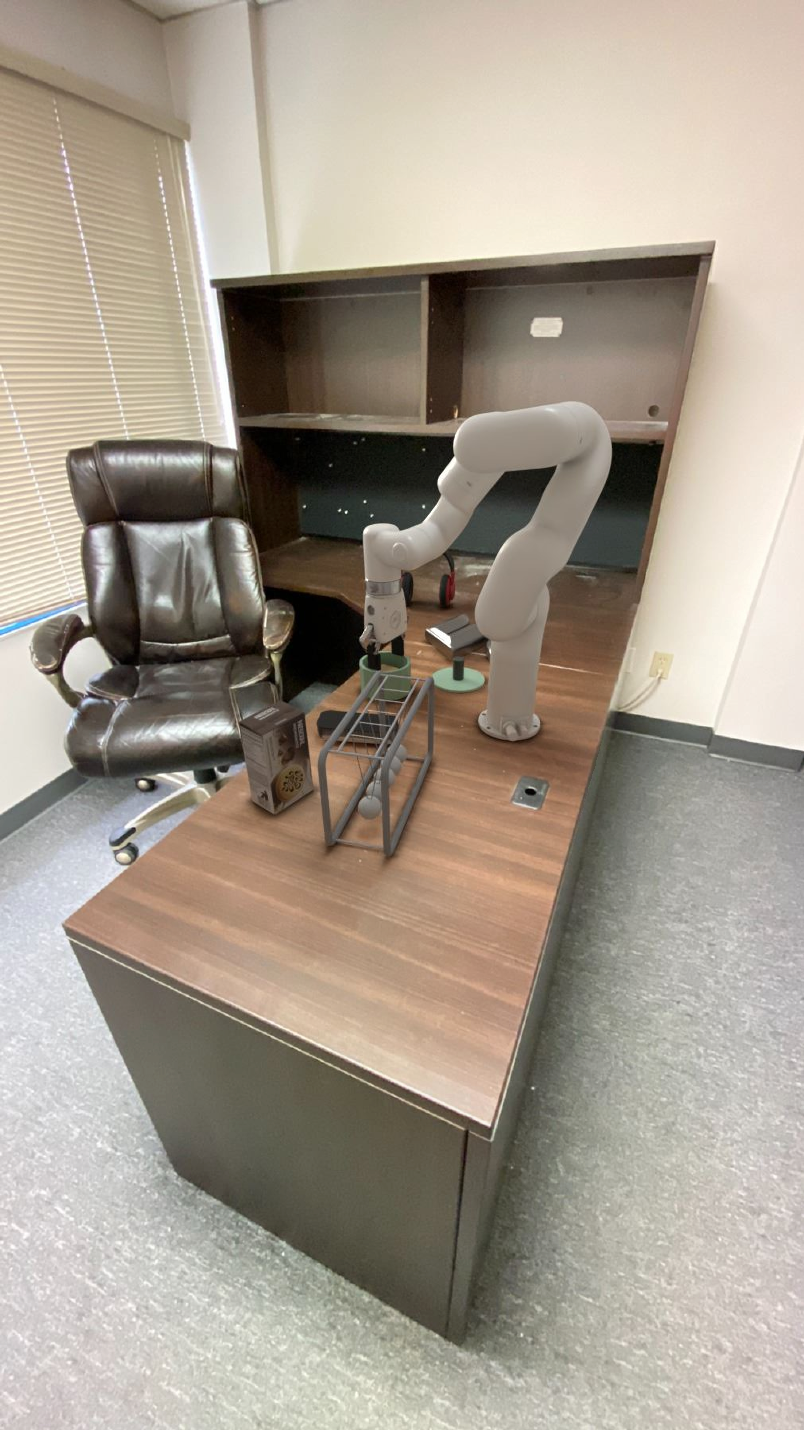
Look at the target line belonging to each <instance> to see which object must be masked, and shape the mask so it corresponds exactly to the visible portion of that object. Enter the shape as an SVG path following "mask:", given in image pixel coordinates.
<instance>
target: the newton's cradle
mask: <svg viewBox="0 0 804 1430" xmlns="http://www.w3.org/2000/svg"><path fill="white" fill-rule="evenodd" d="M384 677H385V679H384ZM388 677H393V678H402V679H411V681H412V680H413V681H415V682H414V685H412V687H411V691H410V692H409V694H408V695H407V696H406V699H405V700H404V701H398V703H399V704H400V703H401V704H402V705H401V708H400V710H399V711H398V713H395V712H388V709H387V704H386V702H388V701H387V700H385V690H389V689H385V688H384V683H385V681H386V680H387V678H388ZM377 681H378V689H377V691H376V692H375V694H374V695H373V697H372V698H371V699H370V700H369V702H368V703H367V705H366V706H365V707H364V709H363V710H362V712H361V713H362V714H361V715H360V717H359V718H358V720H357V721H356V723H355V724H354V726H353V727H352V729H351V730H350V732H349V733H348V735H347V736H346V738H345V739H344V741H341V744H340V745H339V747H338V748H337V750H334V749H332V748H333V747H334V746H335V744H336V743H337V742H338V741H337V740H338V738H339V737H340V735H341V734H342V732H343V731H344V729H345V728H346V726H347V725H348V723H349V722H350V721H351V719H352V718H353V716H354V715H355V713H356V712H357V713H358V710H359V709H360V707H361V706H362V705H363V703H364V701H365V700H367V699H366V697H367V696H368V694H369V693H370V691H371V690H372V688H373V687H374V685H375V684H376V682H377ZM420 681H421V682H423V684H422V686H421V688H420V690H419V692H418V694H417V695H416V697H415V699H414V701H413V703H412V705H411V707H410V708H409V710H408V712H407V709H408V708H407V707H408V704H409V700H410V698H411V696H412V694H413V692H414V691H415V689H416V687H417V685H418V683H419V682H420ZM393 691H398V690H393ZM378 692H379V699H374V698H375V697H376V695H377V694H378ZM402 692H407V691H402ZM426 695H427V748H426V749H427V750H426V756H425V757H420V756H414V755H413V756H412V755H408V751H407V749H406V748H405V746H404V745H402V744H401V743H402V742H403V740H404V738H405V736H406V734H407V732H408V730H409V728H410V726H411V725H412V722H413V721H414V718H415V716H416V714H417V712H418V710H419V708H420V706H421V705H422V702H423V700H424V699H425V697H426ZM378 700H379V701H378ZM373 701H374V704H375V708H376V710H373V712H375V713H377V714H378V716H379V720H380V724H375V725H380V738H376V739H380V744H379V747H378V744H376V740H375V736H374V732H373V728H372V723H371V720H370V716H369V712H372V710H371V709H369V707H370V706H371V704H372V703H373ZM377 701H378V705H377ZM390 702H393V703H397V700H392V701H390ZM404 709H405V710H404ZM403 711H404V715H403ZM346 712H347V714H346V715H345V717H344V718H343V719H342V721H341V722H340V724H339V725H338V726H337V728H336V729H335V731H334V732H333V734H332V735H331V736H330V738H329V739H328V740H326V742H325V743H324V745H323V746H322V747H321V749H320V751H319V755H318V758H317V775H318V785H319V796H320V805H321V814H322V815H321V816H322V825H323V835H324V836H323V837H324V842H325V844H326V845H327V846H330V847H332V846H334V845H335V844H336V843H337V842H338V843H343V844H349V845H353V846H360V847H366V848H370V849H375V850H381V851H382V850H383V854H384V856H385V857H391V856H392V855H393V854H394V853H395V850H396V848H397V846H398V842H399V841H400V838H401V835H402V833H403V830H404V828H405V825H406V823H407V821H408V818H409V817H410V814H411V811H412V808H413V806H414V804H415V802H416V798H417V797H418V793H419V792H420V789H421V786H422V784H423V781H424V779H425V777H426V774H427V772H428V770H429V767H430V765H431V762H432V760H433V755H434V746H435V745H434V743H435V741H434V740H435V739H434V737H435V736H434V735H435V686H434V678H433V677H432V675H428V676H427V677H426V678H421V677H414V676H411V677H404V676H395V675H386V674H383V673H382V671H377V672H376V673H375V674H374V676H373V677H372V678H371V680H370V681H369V683H368V684H367V685H366V687H365V688H364V690H363V691H362V692H361V691H360V694H359V695H358V697H357V698H356V699H355V701H354V702H353V703H352V705H351V707H350V708H349V709H348V711H346ZM364 713H368V716H369V720H370V723H368V724H371V728H372V732H373V736H374V740H375V748H376V752H375V753H374V755H370V754H369V750H368V747H367V746H368V745H367V743H366V742H365V738H364V737H366V736H364V734H363V730H362V726H361V723H365V722H359V721H360V720H361V718H362V717H363V715H364ZM406 713H407V714H406ZM385 715H387V716H388V715H395V716H396V718H395V720H394V722H393V724H392V725H390V721H389V725H390V728H389V731H388V732H387V734H386V726H388V725H386V721H385ZM402 715H403V720H402ZM388 720H389V716H388ZM397 720H398V724H399V726H398V731H397V735H396V737H395V739H394V738H393V735H394V730H395V725H396V722H397ZM401 720H402V724H401ZM358 723H360V726H361V730H362V734H363V736H361V737H363V738H364V742H365V743H364V746H365V749H366V753H367V754H362V753H357V749H356V744H355V742H354V740H353V736H352V735H351V733H352V732H353V730H354V729H355V727H356V726H357V724H358ZM400 725H401V726H400ZM393 727H394V730H393V734H392V740H393V742H392V741H391V744H390V746H389V747H388V745H389V744H388V739H389V734H390V732H391V733H392V729H393ZM350 735H351V736H352V740H353V742H352V744H353V748H354V751H355V752H349V751H341V750H342V749H343V747H344V746H345V744H346V743H347V742H348V741H347V739H348V738H349V736H350ZM354 736H359V735H354ZM369 738H373V737H369ZM387 738H388V739H387ZM386 740H387V744H386ZM328 754H337V755H345V756H351V757H356V759H357V763H358V767H359V772H360V776H361V782H360V784H359V785H358V787H357V789H356V790H355V792H354V794H353V796H352V797H351V800H350V801H349V803H348V805H347V807H346V809H345V810H344V812H343V814H342V816H341V818H340V820H339V821H338V823H337V825H336V827H335V828H334V830H333V832H332V823H331V822H332V821H331V812H330V811H331V809H330V801H329V788H328V778H327V768H326V767H327V766H326V764H327V758H328ZM359 758H366V759H368V761H369V767H368V769H367V771H366V772H365V774H364V776H363V773H362V769H361V765H360V760H359ZM371 759H373V760H372V761H371ZM407 759H414V760H419V761H424V762H423V764H422V766H421V768H420V771H419V773H418V776H417V778H416V779H415V783H414V785H413V787H412V789H411V791H410V793H409V796H408V799H407V801H406V804H405V806H404V808H403V810H402V813H401V815H400V818H399V820H398V822H397V824H396V827H395V829H394V832H393V834H392V836H391V809H390V807H391V805H390V789H391V788H393V786H395V784H396V780H397V779H396V777H397V776H398V775H399V774H400V773H401V771H402V764H403V763H405V761H406V760H407ZM372 776H373V777H372ZM371 778H373V781H372V782H370V780H371ZM369 782H370V783H369ZM364 792H365V795H366V796H364V797H363V798H362V795H363V794H364ZM360 799H361V800H360ZM357 804H358V805H357ZM356 806H357V811H358V813H359V816H360V817H362V818H363V819H364V820H366V821H367V820H369V821H371V820H372V821H373V820H375V819H377V818H378V817H379V816H380V815H381V824H382V826H381V827H382V846H380V845H373V844H368V843H362V842H357V841H350V840H345V839H340V835H341V834H342V832H343V830H344V829H345V827H346V825H347V823H348V821H349V819H350V818H351V816H352V813H353V812H354V809H355V808H356Z"/></svg>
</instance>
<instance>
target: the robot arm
mask: <svg viewBox="0 0 804 1430" xmlns="http://www.w3.org/2000/svg"><path fill="white" fill-rule="evenodd" d="M452 447H453V455H454V456H453V457H452V459H451V460H450V462H449V463H448V464H447V466H446V467H445V468H444V470H443V471H442V472H440V473H441V474H440V475H439V476H438V479H437V488H438V491H439V493H440V498H439V499H438V501H437V503H436V505H435V506H434V507H433V509H432V510H431V511H430V512H429V514H428V515H427V516H426V518H425V519H424V520H423V521H422V522H421V523H419V524H416V525H413V526H411V527H409V528H406V529H403V530H400V529H399V527H398V526H396V525H395V524H391V523H373V524H370V525H367V526H366V527H364V529H363V532H362V545H363V562H364V578H365V579H364V581H365V599H364V600H365V601H364V612H363V613H364V615H363V619H364V621H363V624H364V631H363V633H362V634H361V636H360V637H359V644H360V645H361V647H362V649H363V650H364V652H365V653H366V655H367V659H368V668H370V669H373V670H377V671H380V670H381V654H380V653H378V652H379V651H380V648H381V645H382V644H383V645H385V644H387V643H389V642H390V647H391V648H390V651H391V653H392V654H394V655H398V656H404V654H405V638H406V631H407V629H408V622H409V620H410V616H409V615H408V614H407V613H408V612H407V605H406V603H405V597H404V592H403V589H402V587H401V570H402V571H406V572H409V571H413V570H416V569H419V568H421V567H422V566H425V565H426V564H428V563H430V562H432V561H434V560H436V559H438V558H439V557H441V556H443V553H444V552H445V551H446V550H447V549H448V550H449V548H450V547H451V546H452V545H453V543H454V542H455V541H456V540H457V538H458V537H459V536H460V535H461V534H462V532H463V531H464V530H465V528H466V527H467V525H468V523H469V521H470V520H471V518H472V516H473V514H474V511H475V509H476V508H477V506H478V505H479V504H480V503H481V501H482V500H483V499H484V498H485V497H486V495H487V494H488V493H489V492H490V490H491V489H492V488H493V487H494V485H496V483H497V482H498V481H499V479H501V477H502V476H503V475H504V474H505V472H515V471H525V470H527V471H528V470H535V469H536V470H538V469H546V468H550V467H551V468H552V467H556V468H555V470H554V473H553V475H552V477H551V478H550V480H549V482H548V484H547V485H546V487H545V489H544V491H543V493H542V495H541V498H540V500H539V503H538V505H537V507H536V509H535V511H534V513H533V515H532V517H531V519H530V521H529V522H528V524H526V525H525V526H524V527H523V528H521V529H520V530H518V531H516V532H514V533H513V534H512V535H510V536H509V537H508V538H507V539H506V540H505V541H504V543H503V544H502V546H501V548H500V549H499V551H498V553H497V554H496V556H495V559H494V561H493V562H492V565H491V568H490V570H489V571H488V575H487V577H486V579H485V581H484V584H483V586H482V589H481V591H480V593H479V596H478V598H477V600H476V603H475V608H474V621H475V623H476V624H477V627H478V629H479V631H480V632H481V633H482V634H483V635H484V636H485V637H486V638H488V639H489V640H492V643H491V654H490V661H489V670H488V682H487V684H488V685H487V699H486V709H484V710H483V711H481V713H480V714H479V716H478V721H477V722H478V726H479V729H480V730H481V731H482V732H483V733H485V734H486V735H488V736H490V737H492V738H496V739H499V740H502V741H503V740H504V741H510V742H515V741H521V740H527V739H529V738H532V737H534V736H535V735H537V734H538V733H539V731H540V728H541V721H540V718H539V716H538V715H537V714H536V713H535V705H536V697H537V696H536V695H537V689H538V678H539V669H540V659H541V654H542V645H543V638H544V632H545V627H546V623H547V619H548V615H549V610H550V602H551V601H550V600H551V599H550V598H551V597H550V592H549V589H548V586H547V584H548V582H549V581H550V580H551V579H552V578H553V577H555V576H556V575H557V574H558V573H560V572H561V571H562V570H563V569H564V567H565V566H566V565H567V564H568V561H569V559H570V557H571V555H572V552H573V551H574V548H575V546H576V544H577V542H578V540H579V538H580V536H581V534H582V532H583V530H584V529H585V526H586V524H587V522H588V520H589V518H590V516H591V514H592V512H593V510H594V508H595V506H596V504H597V502H598V499H599V498H600V495H601V493H602V491H603V489H604V487H605V485H606V481H607V479H608V477H609V474H610V470H611V469H610V468H611V465H612V458H613V448H612V447H613V446H612V440H611V434H610V432H609V429H608V427H607V425H606V423H605V421H604V419H603V418H602V417H601V415H600V414H599V413H598V412H597V410H595V409H594V408H593V407H592V406H590V405H588V404H586V403H585V402H581V401H574V400H573V401H570V400H569V401H562V402H557V403H551V404H545V405H539V406H533V407H527V408H520V409H514V410H509V411H491V412H484V413H478V414H475V415H472V416H470V417H468V418H467V419H466V420H464V421H463V422H462V423H461V424H460V426H459V427H458V428H457V431H456V432H455V434H454V438H453V445H452ZM373 643H375V645H374V646H373Z"/></svg>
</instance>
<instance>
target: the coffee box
mask: <svg viewBox="0 0 804 1430" xmlns="http://www.w3.org/2000/svg"><path fill="white" fill-rule="evenodd" d="M237 723H238V727H239V732H240V738H241V744H242V750H243V757H244V761H245V762H244V763H245V768H246V773H247V778H248V785H249V790H250V795H251V801H252V802H254V803H255V804H257V805H258V806H260V807H261V808H263V809H265V810H266V811H268V812H269V813H270V814H272V815H277V814H279V813H281V812H282V811H283V810H285V809H287V808H288V807H289V806H291V805H293V804H294V803H295V802H297V801H299V800H300V799H302V798H303V797H305V796H306V795H307V794H309V793H310V792H312V791H314V781H313V773H312V764H311V755H310V748H309V747H310V746H309V739H308V730H307V722H306V713H305V711H304V710H302V709H299V708H297V707H295V706H293V705H292V704H290V703H287V702H284V701H282V700H278V701H276V702H274V703H272V704H270V705H268V706H267V707H264V708H263V709H260V710H258V711H256V712H254V713H252V714H251V715H249V716H247V717H245V718H243V719H241V720H239V721H238V722H237Z"/></svg>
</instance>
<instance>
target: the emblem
mask: <svg viewBox="0 0 804 1430" xmlns="http://www.w3.org/2000/svg"><path fill="white" fill-rule="evenodd" d="M424 638H425V640H426V641H427V642H428V643H429V644H430V645H431V646H433V647H434V648H435V649H436V650H437V651H438V652H439V653H441V654H442V656H443V657H445V658H446V659H447V660H449V662H453V658H454V657H463V658H464V657H465V656H467V655H469V654H471V653H473V652H476V651H477V650H480V649H481V648H484V647H485V655H486V658H487V660H488V662H490V654H491V643H492V640H489V639H488V638H486V637H485V636H484V635H483V634H482V633H481V632H480V631H479V629H478V627H477V624H476V622H474V623H471V622H470V617H469V615H468V614H467V613H462V614H461V613H460V614H459V615H456V616H454V617H450V618H448V619H446V620H443V621H441V622H437V623H436V624H434V625H433V624H432V625H431V626H429V627H427V628H425V630H424Z"/></svg>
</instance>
